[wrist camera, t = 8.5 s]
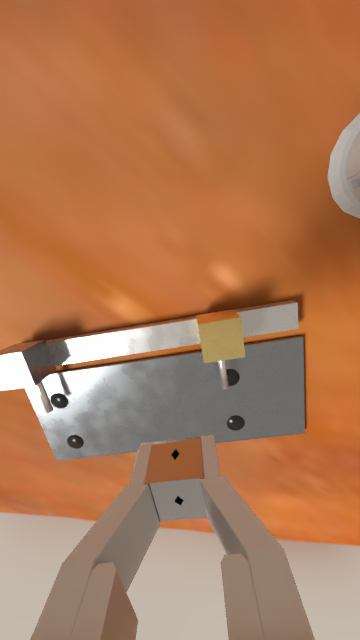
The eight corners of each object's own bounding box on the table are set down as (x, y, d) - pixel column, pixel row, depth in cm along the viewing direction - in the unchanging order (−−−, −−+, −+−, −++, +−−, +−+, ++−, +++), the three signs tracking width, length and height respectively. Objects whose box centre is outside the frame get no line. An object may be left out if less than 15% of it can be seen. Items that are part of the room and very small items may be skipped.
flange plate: (24, 376, 26) (20, 379, 26) (300, 335, 24) (303, 337, 23) (59, 456, 30) (56, 460, 29) (302, 429, 27) (305, 433, 26)
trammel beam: (17, 341, 25) (-24, 358, 20) (290, 295, 22) (318, 304, 18) (41, 400, 27) (10, 429, 23) (292, 366, 25) (318, 390, 20)
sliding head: (196, 315, 22) (197, 324, 18) (232, 309, 21) (241, 317, 18) (207, 386, 24) (211, 406, 20) (240, 381, 23) (249, 401, 20)
